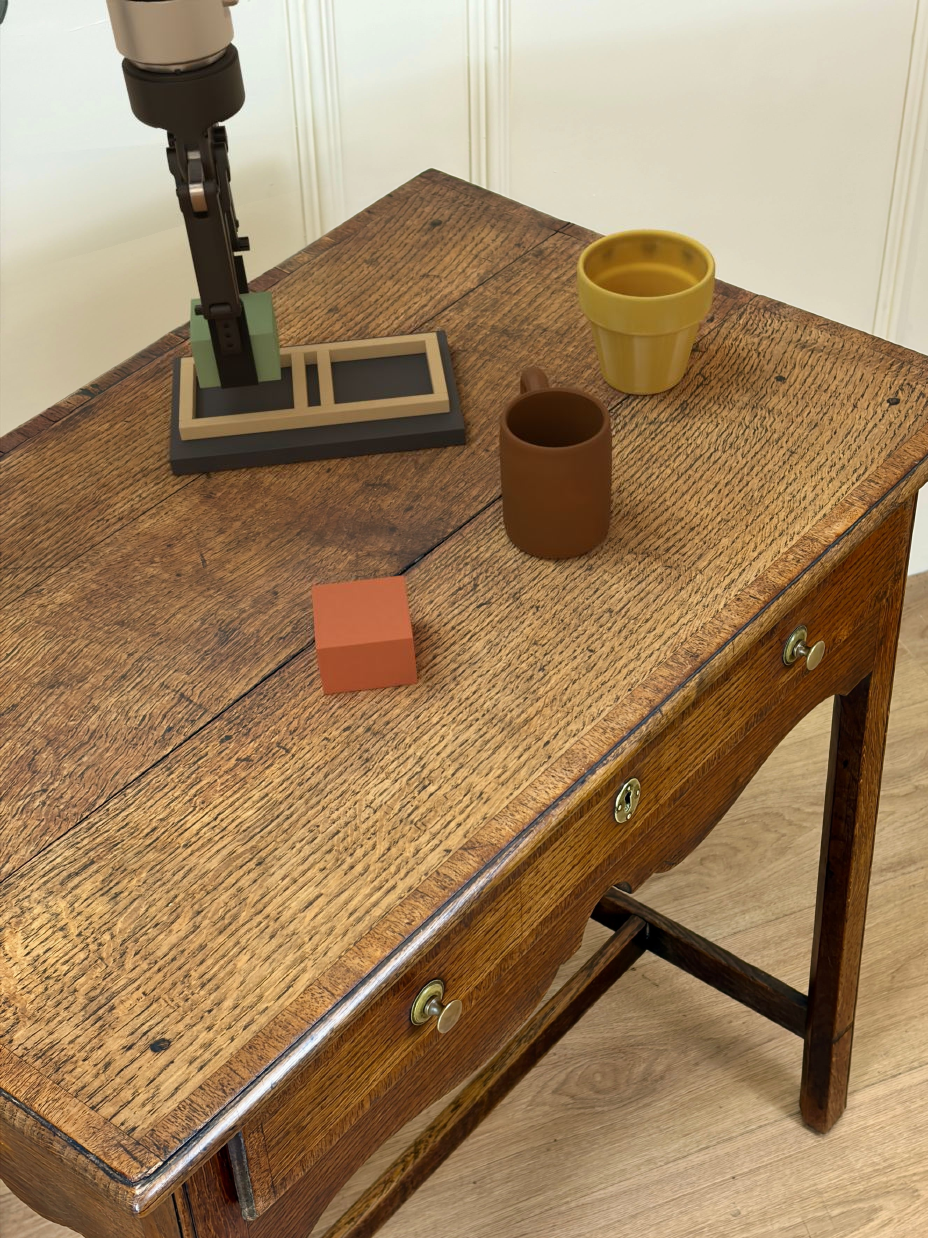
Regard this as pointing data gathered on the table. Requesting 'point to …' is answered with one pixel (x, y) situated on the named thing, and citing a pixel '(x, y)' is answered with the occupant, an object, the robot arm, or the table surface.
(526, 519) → the mug
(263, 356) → the green block
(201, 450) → the backing plate
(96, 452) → the table surface
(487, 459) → the table surface
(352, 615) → the terracotta cube
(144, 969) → the table surface
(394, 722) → the table surface
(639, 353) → the flower pot
